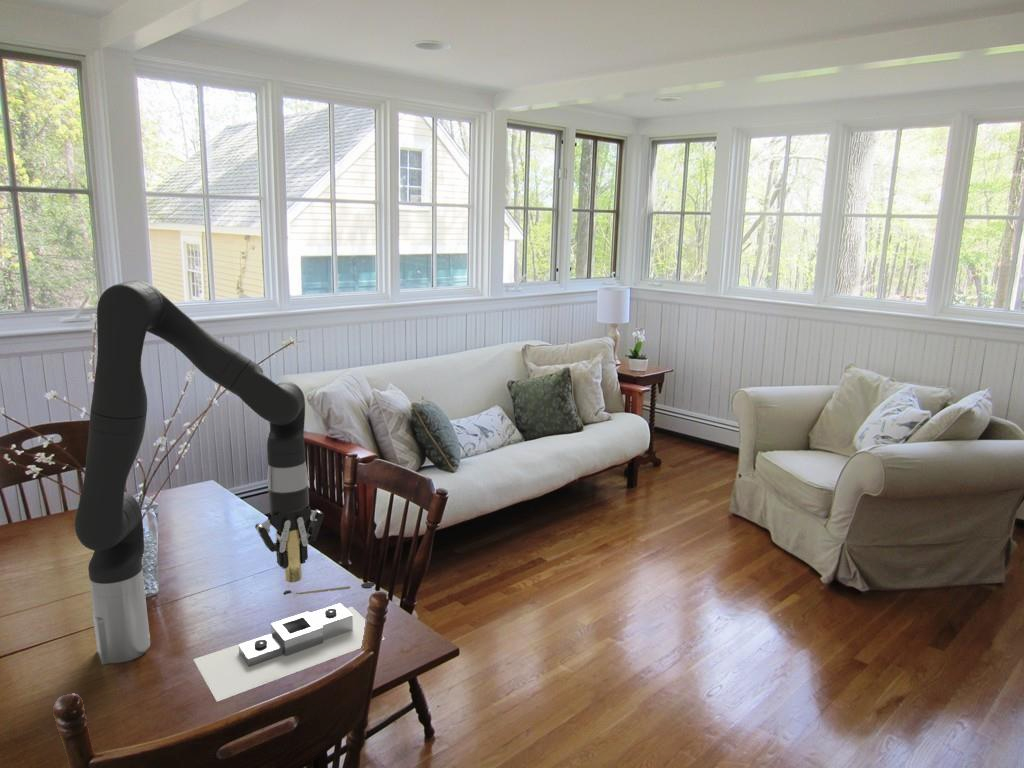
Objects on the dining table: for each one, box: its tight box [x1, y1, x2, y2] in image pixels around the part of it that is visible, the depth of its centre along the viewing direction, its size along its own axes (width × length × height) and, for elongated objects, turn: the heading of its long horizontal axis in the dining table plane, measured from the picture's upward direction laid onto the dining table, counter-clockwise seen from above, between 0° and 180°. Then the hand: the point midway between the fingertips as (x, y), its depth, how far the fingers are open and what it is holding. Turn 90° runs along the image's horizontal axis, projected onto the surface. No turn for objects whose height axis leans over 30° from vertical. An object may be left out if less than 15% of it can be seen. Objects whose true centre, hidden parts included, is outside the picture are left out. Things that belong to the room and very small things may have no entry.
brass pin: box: [284, 529, 303, 583], centre depth 146 cm, size 3×3×11 cm
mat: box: [192, 606, 386, 703], centre depth 148 cm, size 34×16×1 cm, turn 127°
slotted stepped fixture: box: [237, 602, 353, 667], centre depth 150 cm, size 22×8×4 cm, turn 127°
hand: (292, 564), depth 146 cm, fingers closed on brass pin, 3 cm apart
